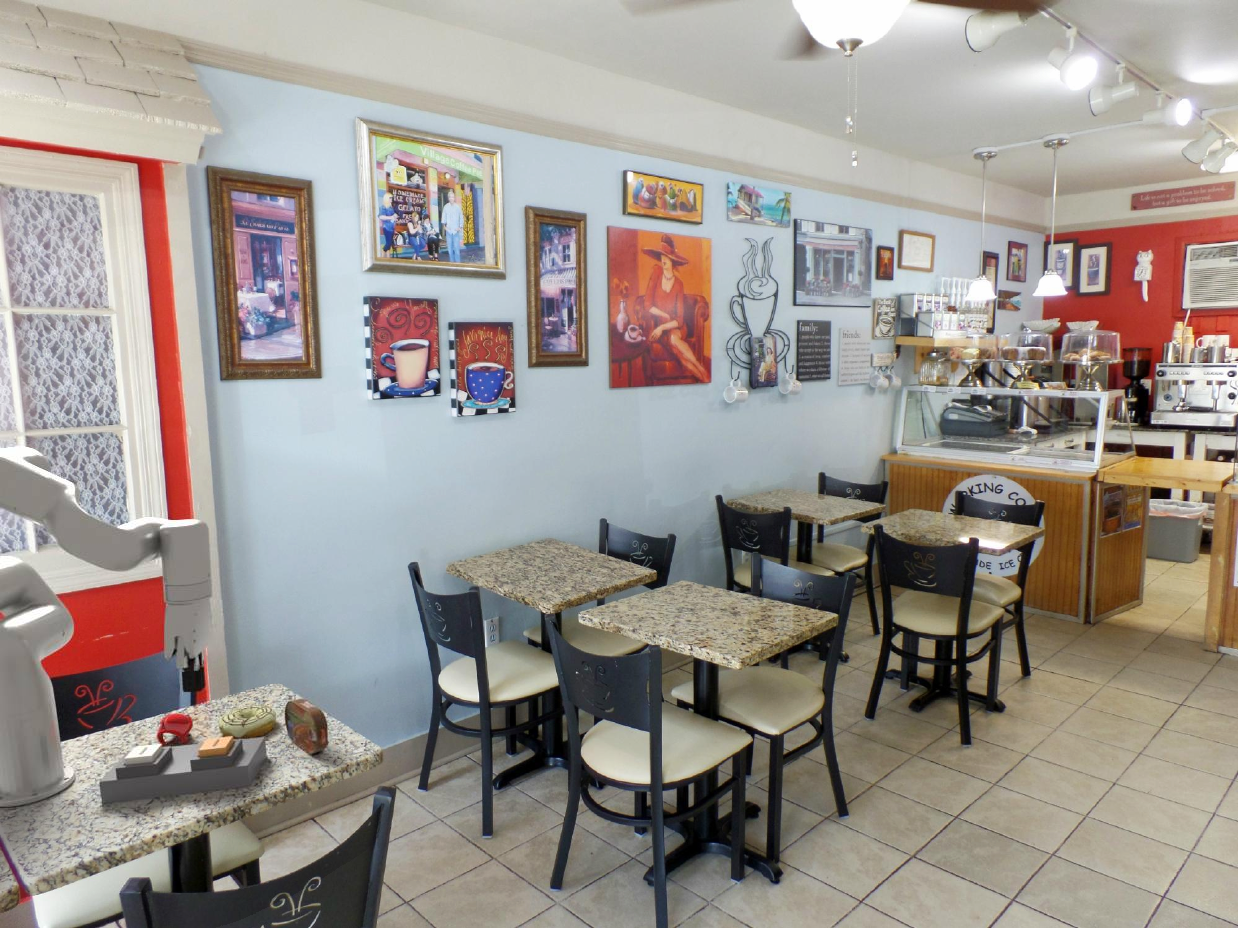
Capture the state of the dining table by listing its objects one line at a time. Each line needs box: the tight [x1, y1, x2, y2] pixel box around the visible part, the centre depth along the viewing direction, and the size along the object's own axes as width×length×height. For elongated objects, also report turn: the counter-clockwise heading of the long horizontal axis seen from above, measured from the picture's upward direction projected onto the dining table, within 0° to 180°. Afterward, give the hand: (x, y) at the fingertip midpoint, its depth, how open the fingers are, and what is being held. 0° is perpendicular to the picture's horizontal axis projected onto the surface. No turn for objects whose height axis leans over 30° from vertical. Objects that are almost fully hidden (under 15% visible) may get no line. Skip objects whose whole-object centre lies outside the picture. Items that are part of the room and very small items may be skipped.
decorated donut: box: [218, 704, 277, 740], centre depth 164 cm, size 10×11×4 cm
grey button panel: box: [98, 736, 268, 805], centre depth 144 cm, size 24×11×6 cm, turn 99°
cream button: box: [124, 743, 163, 765], centre depth 141 cm, size 4×4×2 cm
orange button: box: [198, 736, 234, 757], centre depth 143 cm, size 4×4×2 cm
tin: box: [284, 698, 329, 755], centre depth 156 cm, size 15×3×8 cm, turn 44°
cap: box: [156, 712, 194, 747], centre depth 160 cm, size 8×6×6 cm
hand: (194, 689), depth 144 cm, fingers closed
